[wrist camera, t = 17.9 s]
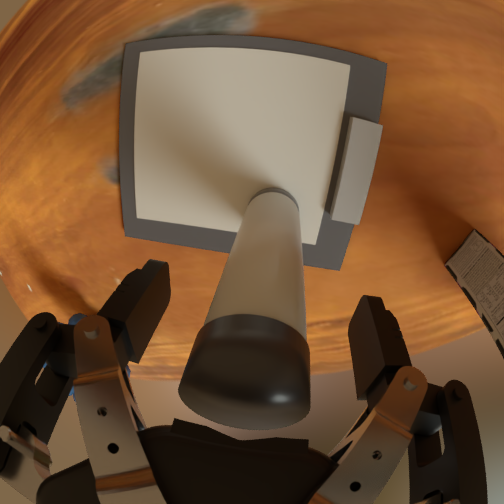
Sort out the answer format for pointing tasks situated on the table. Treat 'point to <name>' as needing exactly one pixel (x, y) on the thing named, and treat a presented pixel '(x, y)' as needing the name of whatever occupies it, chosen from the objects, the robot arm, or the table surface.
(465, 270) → the candy bar box
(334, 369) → the table surface
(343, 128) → the clipboard
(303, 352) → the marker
